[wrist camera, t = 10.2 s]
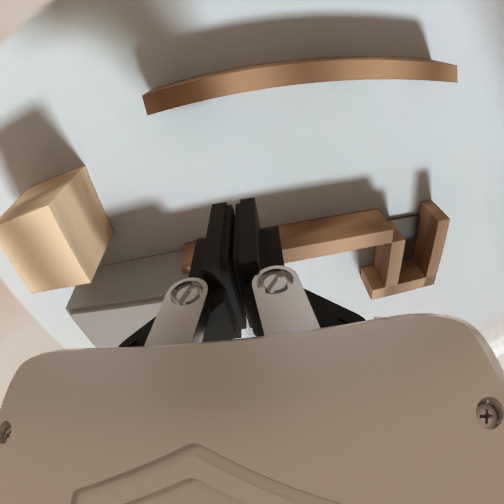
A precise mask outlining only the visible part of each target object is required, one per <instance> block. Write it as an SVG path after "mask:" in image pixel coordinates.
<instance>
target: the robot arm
mask: <svg viewBox="0 0 504 504" xmlns="http://www.w3.org/2000/svg"><path fill="white" fill-rule="evenodd" d="M246 315H247V319H248V322H249V326H250V328H253V332H254V335H256V336H257V337H251V338H242V339H235V338H241V329H246ZM0 504H504V371H503V369H502V367H501V365H500V363H499V361H498V359H497V357H496V356H495V354H494V352H493V350H492V349H491V347H490V346H489V344H488V343H487V341H486V340H485V338H484V337H483V336H482V334H481V333H480V332H479V331H478V330H477V329H476V328H475V327H474V326H473V325H471V324H470V323H468V322H466V321H464V320H462V319H460V318H456V317H452V316H448V315H440V314H407V315H397V316H391V317H374V319H373V320H367V321H366V320H365V319H364V318H363V317H361V316H360V315H358V314H356V313H354V312H352V311H350V310H348V309H346V308H344V307H342V306H339V305H337V304H335V303H333V302H331V301H329V300H327V299H325V298H323V297H320V296H318V295H316V294H314V293H312V292H310V291H308V290H306V289H304V288H303V286H302V284H301V281H300V279H299V277H298V275H297V273H296V272H295V271H294V270H293V269H291V268H289V267H286V266H284V260H283V253H282V247H281V241H280V235H279V229H278V226H275V227H269V228H262V229H260V224H259V218H258V213H257V208H256V203H255V198H248V199H241V200H240V203H239V204H236V208H235V214H234V210H233V206H232V205H227V203H226V202H224V203H218V204H212V208H211V213H210V219H209V224H208V229H207V235H206V238H199V239H197V240H196V244H195V249H194V253H193V258H192V263H191V267H190V272H189V277H188V278H186V279H183V280H180V281H178V282H177V283H175V284H174V285H172V286H171V287H170V288H169V290H168V292H167V293H166V296H165V298H164V300H163V302H162V305H161V307H160V309H159V312H158V314H157V316H156V317H154V318H153V319H152V320H150V321H149V322H148V323H146V324H145V325H144V326H142V327H141V328H140V329H139V330H137V331H136V332H135V333H133V334H132V335H131V336H129V337H128V338H127V339H125V340H124V341H123V342H122V343H121V344H120V345H119V346H118V347H110V348H83V349H62V350H55V351H50V352H46V353H42V354H39V355H37V356H34V357H32V358H30V359H28V360H27V361H25V362H24V363H23V364H22V365H21V366H20V367H19V368H18V370H17V371H16V373H15V375H14V377H13V379H12V381H11V383H10V385H9V387H8V389H7V392H6V394H5V397H4V400H3V402H2V405H1V408H0Z"/></svg>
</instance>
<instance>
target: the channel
mask: <svg viewBox="0 0 504 504" xmlns="http://www.w3.org/2000/svg"><path fill="white" fill-rule="evenodd" d="M364 79H409V80H431V81H445V82H456V83H457V65H453V64H448V63H444V62H439V61H434V60H427V59H414V58H398V57H335V58H318V59H305V60H295V61H285V62H277V63H269V64H262V65H256V66H250V67H244V68H238V69H233V70H227V71H222V72H217V73H213V74H208V75H204V76H199V77H195V78H191V79H187V80H183V81H179V82H176V83H172V84H168V85H165V86H161V87H158V88H155V89H153V90H151V91H149V92H147V93H146V94H144V95H142V97H143V101H144V105H145V108H146V112H147V115H150V114H154V113H157V112H160V111H164V110H168V109H171V108H175V107H179V106H183V105H187V104H191V103H195V102H199V101H203V100H208V99H212V98H217V97H222V96H226V95H231V94H237V93H242V92H248V91H254V90H260V89H266V88H273V87H280V86H288V85H296V84H305V83H315V82H327V81H342V80H364ZM449 221H450V219H449V218H448V216H447V215H446V214H445V213H444V212H443V211H442V210H441V209H440V208H439V207H438V206H437V205H436V204H435V203H434V202H433V201H432V200H431V201H425V202H421V204H420V211H419V214H416V215H411V216H405V217H399V218H393V219H387V220H386V219H385V217H384V216H383V215H382V213H381V212H380V211H379V210H378V209H374V210H368V211H362V212H356V213H350V214H344V215H338V216H332V217H326V218H320V219H315V220H309V221H303V222H298V223H292V224H286V225H281V226H278V229H279V235H280V241H281V247H282V253H283V260H284V263H288V262H293V261H298V260H304V259H309V258H315V257H320V256H325V255H331V254H336V253H341V252H346V251H351V250H357V249H362V248H367V247H372V246H375V254H374V264H373V265H371V266H367V267H362V268H361V279H362V281H363V283H364V285H365V287H366V289H367V292H368V294H369V296H370V298H371V300H373V299H377V298H382V297H386V296H390V295H394V294H398V293H402V292H406V291H410V290H414V289H417V288H421V287H425V286H429V285H432V284H434V281H435V278H436V274H437V271H438V267H439V263H440V259H441V256H442V252H443V248H444V243H445V239H446V235H447V230H448V226H449ZM195 244H196V241H195V242H190V243H185V247H184V253H183V259H182V265H181V270H182V272H183V274H189V272H190V267H191V263H192V258H193V253H194V249H195Z"/></svg>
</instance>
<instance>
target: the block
mask: <svg viewBox="0 0 504 504" xmlns="http://www.w3.org/2000/svg"><path fill="white" fill-rule="evenodd" d="M113 234H114V231H113V229H112V227H111V224H110V222H109V220H108V218H107V216H106V213H105V211H104V209H103V207H102V204H101V202H100V200H99V197H98V195H97V193H96V190H95V188H94V186H93V183H92V181H91V178H90V176H89V173H88V171H87V168H86V166H82V167H79V168H77V169H74V170H71V171H69V172H66V173H63V174H61V175H58V176H56V177H53V178H51V179H49V180H46V181H44V182H41V183H39V184H37V185H34V186H32V187H30V188H28V189H27V190H26V191H25V192H24V193H23V194H22V195H21V196H20V197H19V198H18V199H17V200H16V201H15V202H14V203H13V205H12V206H11V207H10V208H9V209H8V210H7V211H6V212H5V213H4V214H3V215H2V216H1V217H0V246H1V247H2V249H3V251H4V252H5V254H6V256H7V257H8V259H9V260H10V262H11V264H12V265H13V267H14V268H15V270H16V271H17V273H18V274H19V276H20V277H21V279H22V280H23V282H24V283H25V285H26V286H27V287H28V289H29V290H30V292H31V293H37V292H42V291H48V290H53V289H59V288H65V287H70V286H76V285H81V284H87V283H91V281H92V279H93V277H94V274H95V272H96V270H97V268H98V265H99V263H100V261H101V259H102V257H103V254H104V252H105V250H106V248H107V246H108V244H109V242H110V240H111V238H112V236H113Z"/></svg>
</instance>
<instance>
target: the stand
mask: <svg viewBox="0 0 504 504" xmlns="http://www.w3.org/2000/svg"><path fill="white" fill-rule="evenodd" d="M183 253H184V250H182V251H177V252H171V253H166V254H161V255H156V256H151V257H146V258H141V259H136V260H130V261H125V262H120V263H115V264H110V265H106V266H101V267H98V268H97V270H96V272H95V274H94V277H93V279H92V281H91V283H87V284H81V285H76V287H75V289H74V291H73V293H72V296H71V298H70V300H69V302H68V305H67V307H66V310H67V311H68V313H69V314H70V316H71V317H72V318H73V320H74V321H75V322H76V324H77V325H78V326H79V327H80V329H81V330H82V331H83V332H84V334H85V335H86V336H87V337H88V339H89V340H90V341H91V342H92V343H93V345H94V346H95V347H96V348H110V347H118V346H119V345H120V344H121V343H122V342H123V341H124V340H125V339H127V338H128V337H129V336H131V335H132V334H133V333H135V332H136V331H137V330H139V329H140V328H141V327H142V326H144V325H145V324H146V323H148V322H149V321H150V320H152V319H153V318H154V317H156V316H157V314H158V312H159V309H160V307H161V305H162V302H163V300H164V298H165V296H166V293H167V292H168V290H169V288H170V287H171V286H172V285H174V284H175V283H177V282H178V281H180V280H183V279H186V278H188V277H189V274H183V272H182V270H181V265H182V259H183Z"/></svg>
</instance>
